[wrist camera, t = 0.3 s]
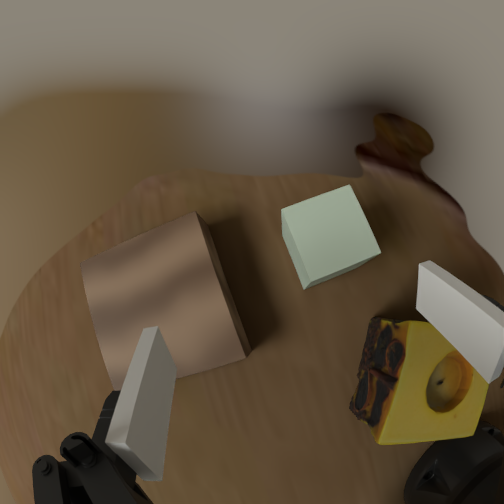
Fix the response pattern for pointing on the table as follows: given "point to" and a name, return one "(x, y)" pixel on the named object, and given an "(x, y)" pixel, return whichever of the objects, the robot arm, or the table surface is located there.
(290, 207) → the sage block
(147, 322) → the walnut block
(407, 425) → the candle
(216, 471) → the table surface
